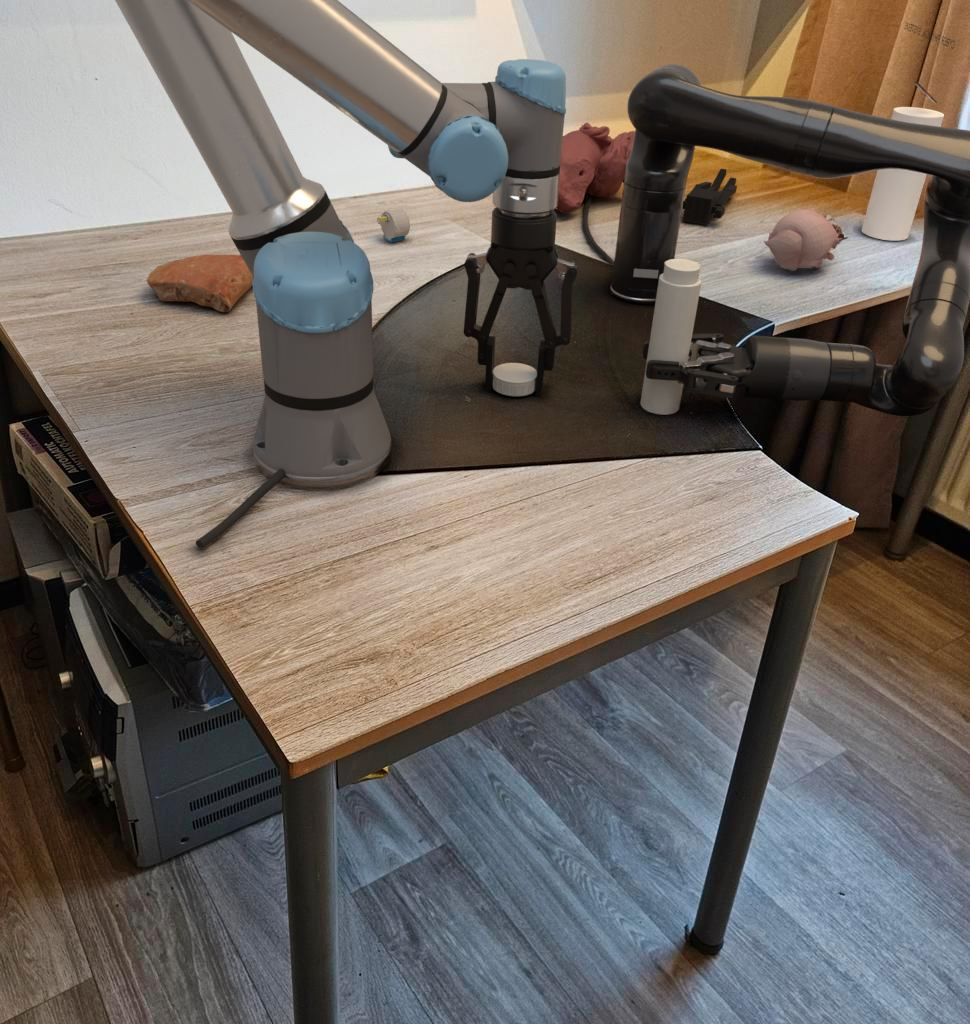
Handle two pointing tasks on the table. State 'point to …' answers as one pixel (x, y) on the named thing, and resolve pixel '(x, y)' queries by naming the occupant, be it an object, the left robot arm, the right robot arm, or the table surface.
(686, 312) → the jar
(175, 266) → the ceramic shard
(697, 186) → the toy
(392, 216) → the electric motor
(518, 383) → the lid
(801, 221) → the toy
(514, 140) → the left robot arm
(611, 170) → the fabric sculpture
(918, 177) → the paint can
